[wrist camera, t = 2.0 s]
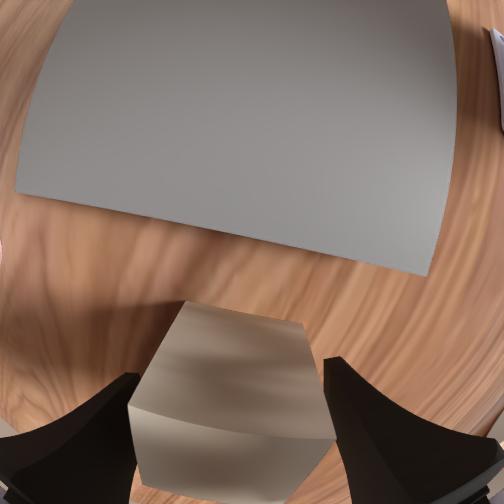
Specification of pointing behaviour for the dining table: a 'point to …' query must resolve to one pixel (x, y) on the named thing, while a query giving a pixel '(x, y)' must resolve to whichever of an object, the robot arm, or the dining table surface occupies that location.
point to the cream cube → (230, 409)
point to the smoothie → (0, 253)
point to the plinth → (254, 120)
